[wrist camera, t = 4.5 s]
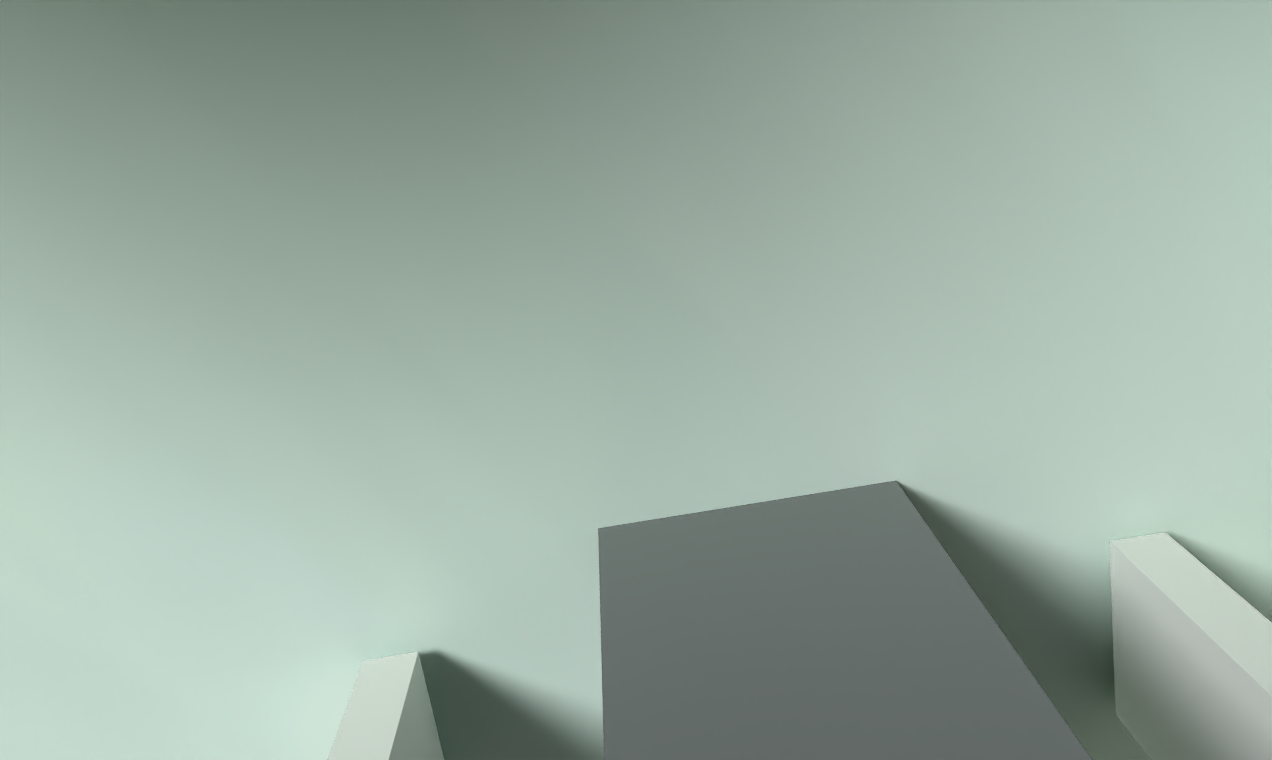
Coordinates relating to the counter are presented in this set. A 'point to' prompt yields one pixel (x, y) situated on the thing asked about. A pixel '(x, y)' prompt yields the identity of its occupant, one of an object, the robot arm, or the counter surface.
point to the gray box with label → (808, 640)
